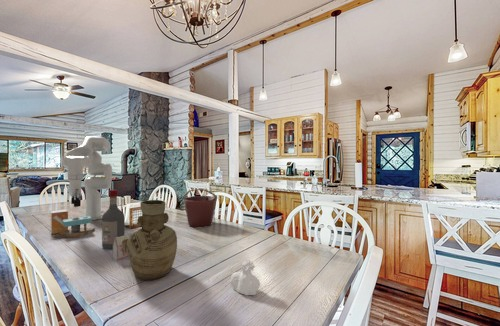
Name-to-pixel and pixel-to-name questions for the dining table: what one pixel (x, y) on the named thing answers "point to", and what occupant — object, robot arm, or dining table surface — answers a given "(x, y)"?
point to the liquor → (112, 222)
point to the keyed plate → (76, 221)
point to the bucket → (200, 209)
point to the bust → (245, 279)
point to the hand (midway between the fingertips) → (75, 205)
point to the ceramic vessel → (151, 242)
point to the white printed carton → (119, 247)
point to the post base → (74, 235)
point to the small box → (58, 221)
